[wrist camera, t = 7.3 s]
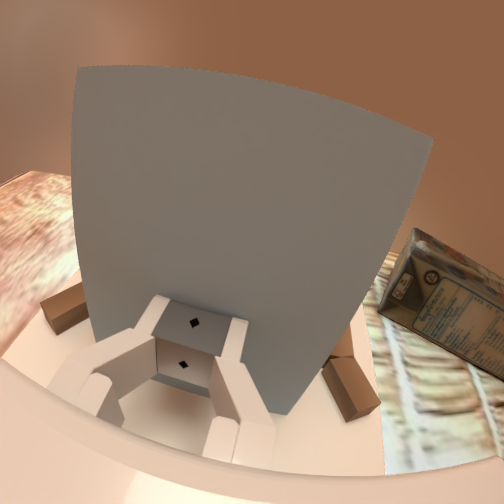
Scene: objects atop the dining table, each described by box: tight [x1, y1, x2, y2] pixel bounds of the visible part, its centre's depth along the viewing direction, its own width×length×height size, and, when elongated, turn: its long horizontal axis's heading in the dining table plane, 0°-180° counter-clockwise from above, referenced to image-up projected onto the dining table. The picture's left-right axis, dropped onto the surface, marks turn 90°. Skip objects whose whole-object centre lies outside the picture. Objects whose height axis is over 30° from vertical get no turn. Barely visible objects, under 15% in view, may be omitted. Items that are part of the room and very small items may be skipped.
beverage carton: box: [378, 228, 504, 380], centre depth 19 cm, size 8×19×6 cm, turn 57°
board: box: [2, 268, 385, 476], centre depth 14 cm, size 19×20×1 cm
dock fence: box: [40, 282, 381, 423], centre depth 16 cm, size 18×12×5 cm
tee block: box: [71, 65, 434, 415], centre depth 12 cm, size 9×8×12 cm
